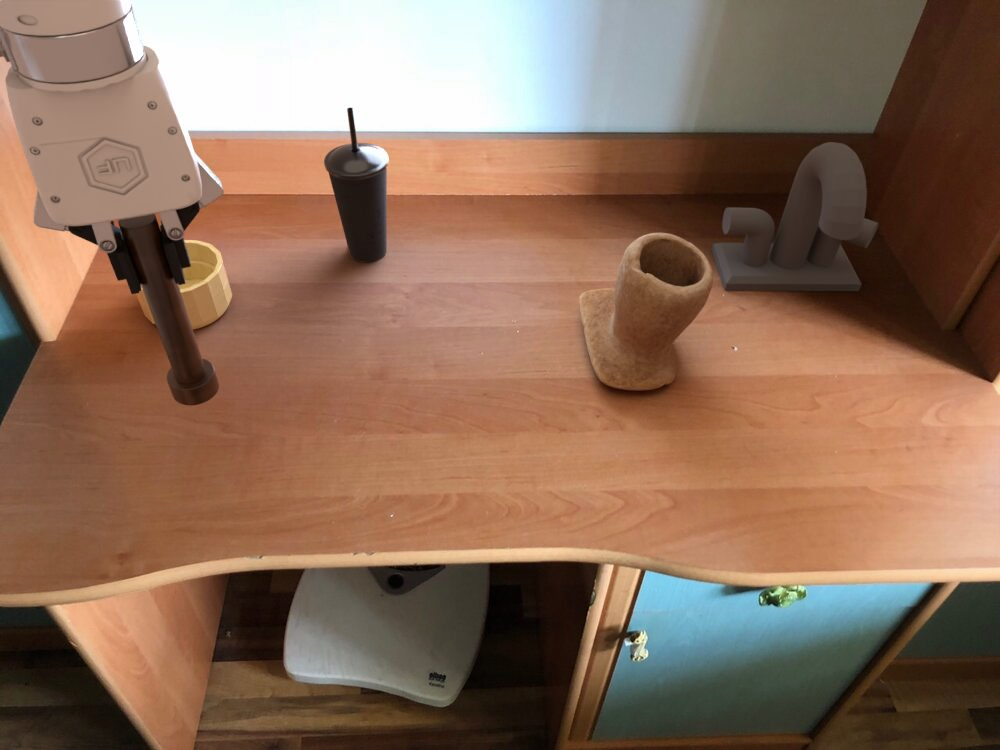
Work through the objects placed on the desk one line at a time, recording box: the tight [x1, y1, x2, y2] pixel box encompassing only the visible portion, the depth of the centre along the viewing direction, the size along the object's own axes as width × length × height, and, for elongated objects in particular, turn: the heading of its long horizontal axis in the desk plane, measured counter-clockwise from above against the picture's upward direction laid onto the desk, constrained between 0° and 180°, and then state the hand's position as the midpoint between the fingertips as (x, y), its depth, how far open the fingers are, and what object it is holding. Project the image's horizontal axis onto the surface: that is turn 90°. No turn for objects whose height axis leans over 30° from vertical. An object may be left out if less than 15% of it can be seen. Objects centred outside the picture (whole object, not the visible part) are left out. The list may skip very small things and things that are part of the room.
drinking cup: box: [323, 107, 390, 263], centre depth 97 cm, size 8×8×20 cm
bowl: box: [135, 239, 233, 331], centre depth 94 cm, size 10×10×6 cm
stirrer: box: [117, 214, 220, 406], centre depth 64 cm, size 4×4×18 cm
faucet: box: [710, 141, 879, 292], centre depth 94 cm, size 18×16×20 cm
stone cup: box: [578, 232, 714, 392], centre depth 87 cm, size 15×12×15 cm
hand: (157, 277), depth 62 cm, fingers closed on stirrer, 2 cm apart
